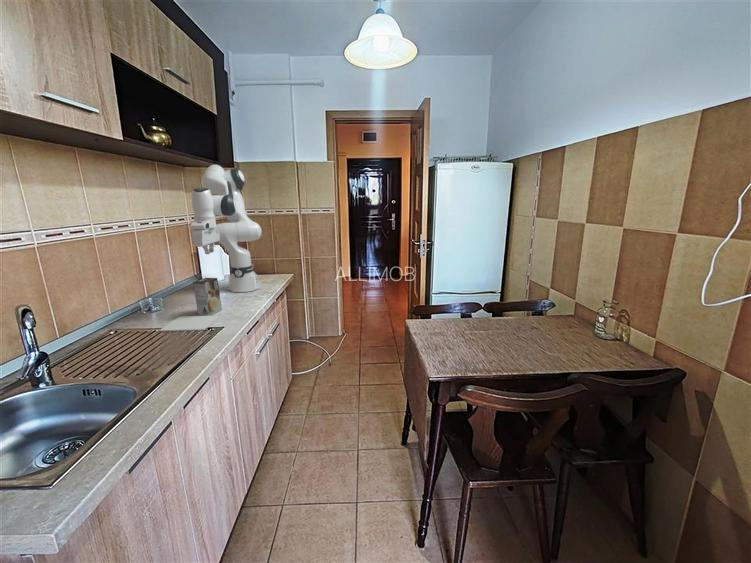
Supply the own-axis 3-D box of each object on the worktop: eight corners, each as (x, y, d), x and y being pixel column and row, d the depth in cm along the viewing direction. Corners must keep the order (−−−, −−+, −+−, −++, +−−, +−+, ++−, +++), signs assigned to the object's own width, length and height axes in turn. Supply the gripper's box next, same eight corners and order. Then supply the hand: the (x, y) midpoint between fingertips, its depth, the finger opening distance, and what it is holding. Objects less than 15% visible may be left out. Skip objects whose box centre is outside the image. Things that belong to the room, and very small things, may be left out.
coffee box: (210, 308, 164) (206, 277, 160) (222, 309, 163) (217, 277, 159) (197, 315, 156) (192, 282, 152) (209, 316, 154) (204, 282, 150)
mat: (180, 317, 153) (179, 316, 153) (220, 316, 154) (219, 315, 154) (159, 331, 138) (159, 330, 138) (204, 330, 138) (204, 329, 138)
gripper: (208, 222, 167) (212, 249, 170) (187, 226, 147) (192, 257, 150) (221, 221, 167) (224, 249, 170) (202, 225, 147) (207, 256, 151)
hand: (209, 253), depth 160 cm, fingers open, 3 cm apart
